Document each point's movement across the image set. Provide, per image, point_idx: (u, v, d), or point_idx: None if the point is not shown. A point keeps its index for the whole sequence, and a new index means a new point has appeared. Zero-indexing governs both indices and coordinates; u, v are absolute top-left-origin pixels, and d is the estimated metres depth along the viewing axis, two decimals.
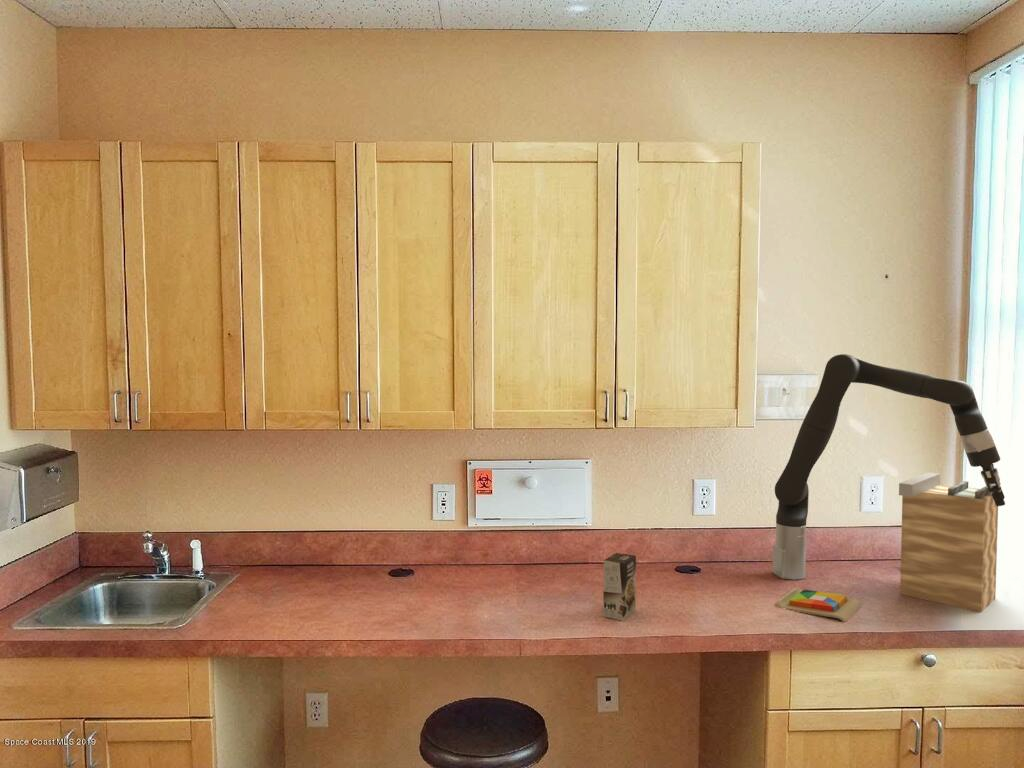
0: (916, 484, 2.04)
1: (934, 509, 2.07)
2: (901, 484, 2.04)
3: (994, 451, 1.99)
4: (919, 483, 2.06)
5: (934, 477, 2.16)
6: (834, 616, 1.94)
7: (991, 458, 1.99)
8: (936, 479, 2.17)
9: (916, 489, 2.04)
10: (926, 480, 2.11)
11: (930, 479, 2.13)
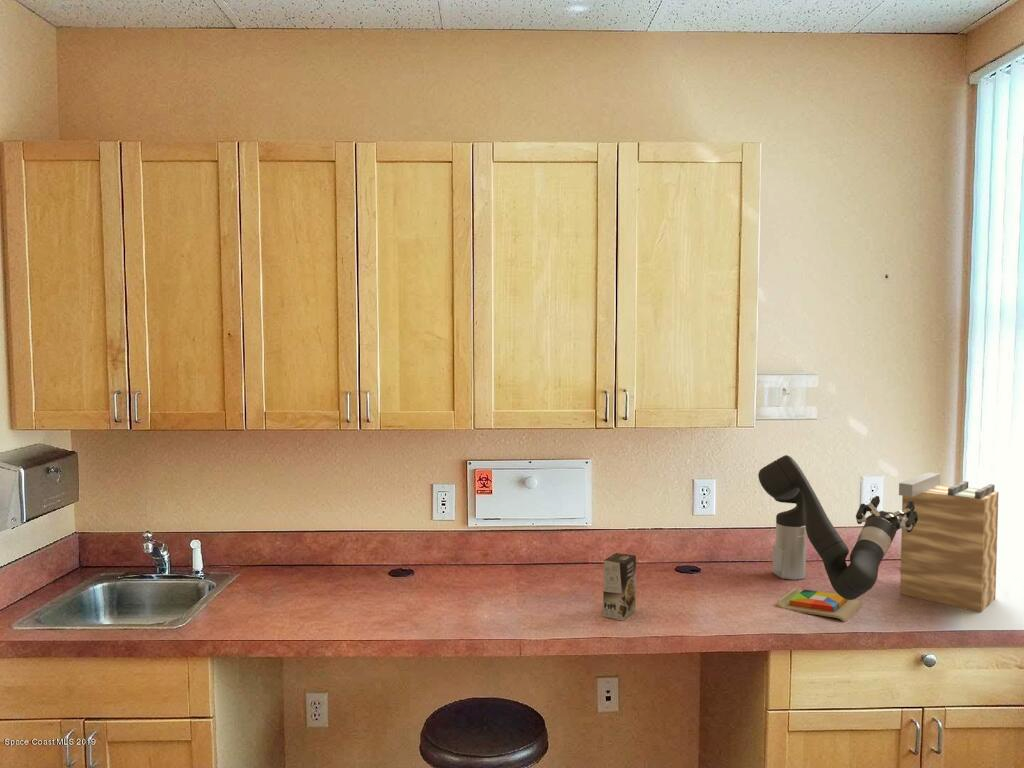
0: (916, 484, 2.04)
1: (934, 509, 2.07)
2: (901, 484, 2.04)
3: None
4: (919, 483, 2.06)
5: (934, 477, 2.16)
6: (834, 616, 1.94)
7: None
8: (936, 479, 2.17)
9: (916, 489, 2.04)
10: (926, 480, 2.11)
11: (930, 479, 2.13)
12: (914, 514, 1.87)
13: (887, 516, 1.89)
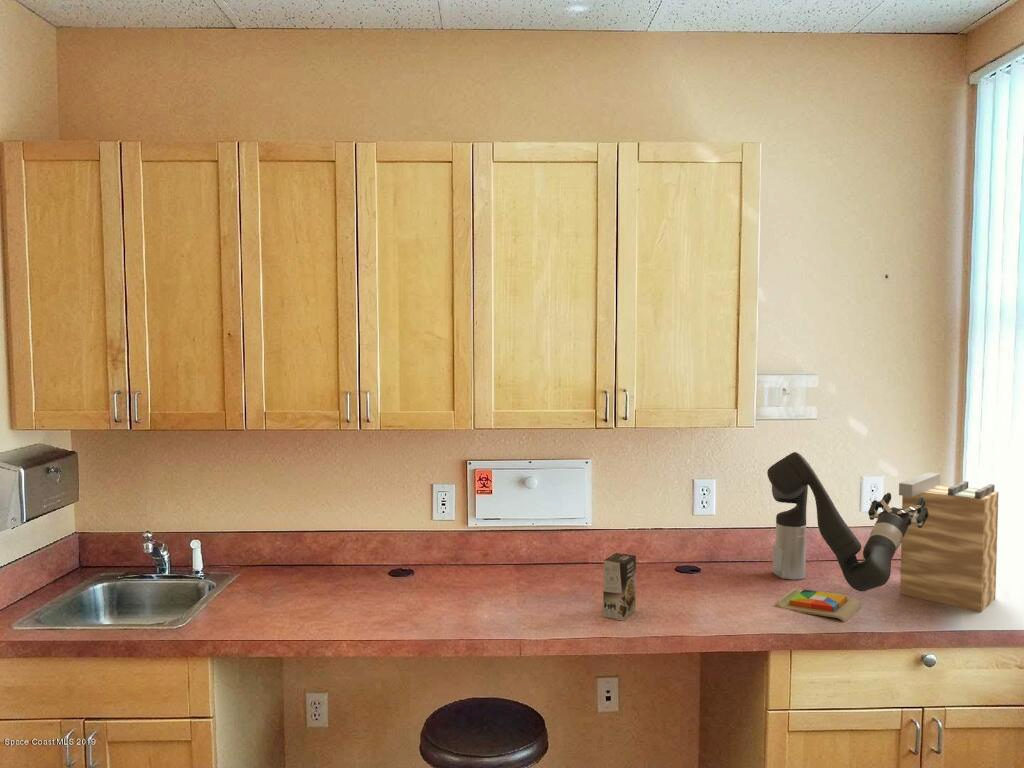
0: (916, 484, 2.04)
1: (934, 509, 2.07)
2: (901, 484, 2.04)
3: None
4: (919, 483, 2.06)
5: (934, 477, 2.16)
6: (834, 616, 1.94)
7: None
8: (936, 479, 2.17)
9: (916, 489, 2.04)
10: (926, 480, 2.11)
11: (930, 479, 2.13)
12: (925, 510, 1.95)
13: (899, 512, 1.96)
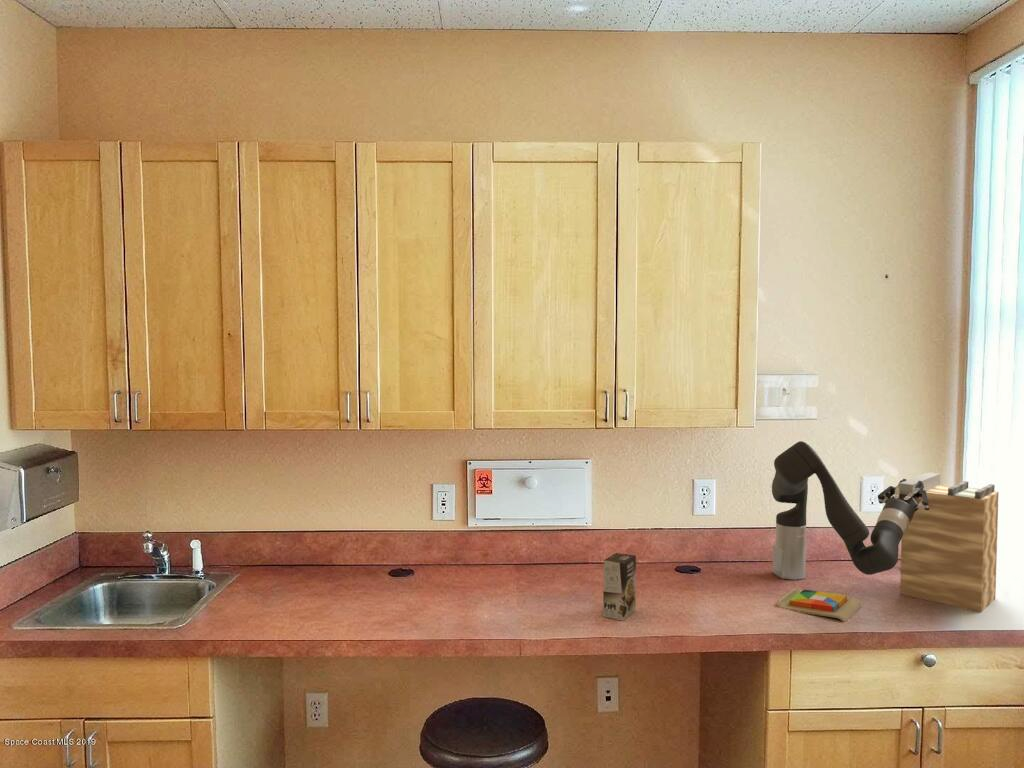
0: (916, 484, 2.04)
1: (934, 509, 2.07)
2: (901, 484, 2.04)
3: None
4: None
5: (934, 477, 2.16)
6: (834, 616, 1.94)
7: None
8: (936, 479, 2.17)
9: None
10: (926, 480, 2.11)
11: (930, 479, 2.13)
12: (923, 493, 2.00)
13: (905, 498, 2.00)
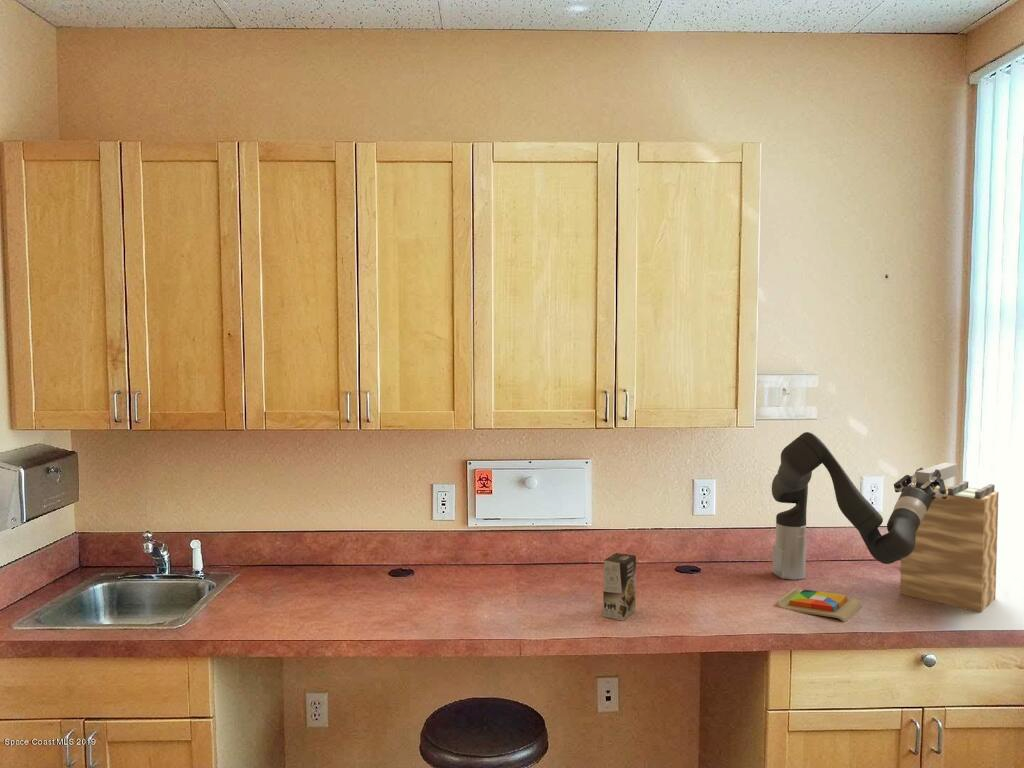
0: (933, 473, 2.01)
1: (934, 509, 2.07)
2: (918, 473, 2.01)
3: None
4: None
5: (951, 467, 2.12)
6: (834, 616, 1.94)
7: None
8: (953, 469, 2.14)
9: None
10: (943, 469, 2.07)
11: (947, 469, 2.10)
12: (941, 481, 1.97)
13: (922, 487, 1.96)
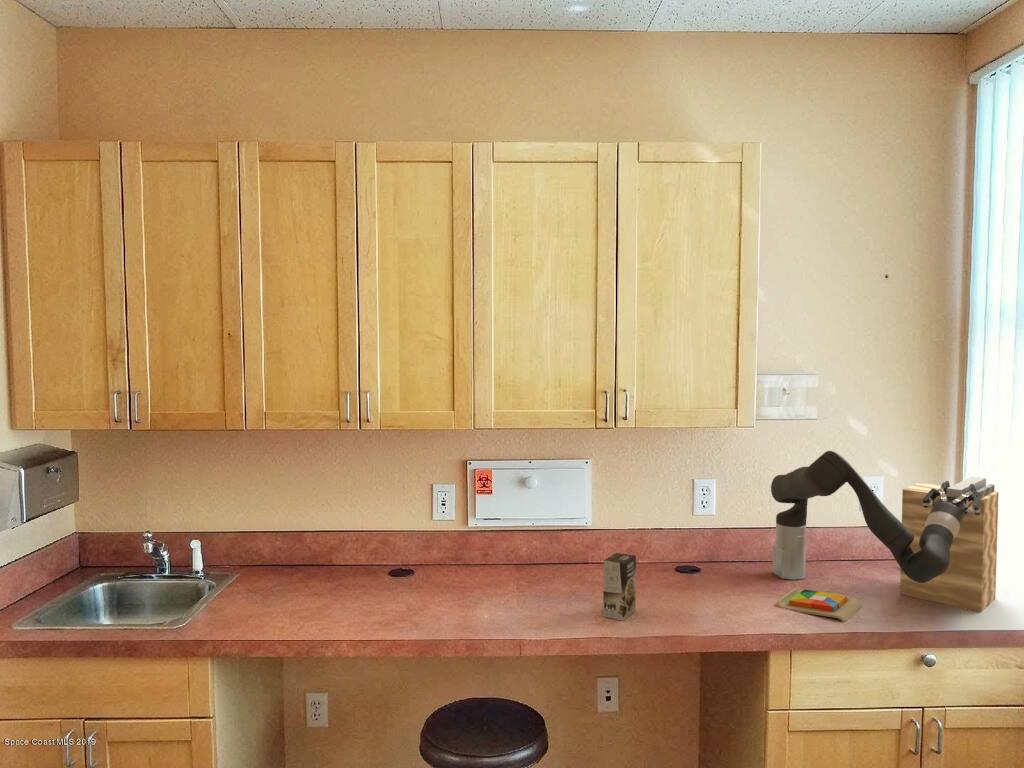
0: (964, 489, 1.96)
1: None
2: (949, 489, 1.95)
3: None
4: (967, 488, 1.97)
5: (981, 482, 2.07)
6: (834, 616, 1.94)
7: None
8: (982, 484, 2.08)
9: None
10: None
11: (977, 484, 2.04)
12: (977, 497, 1.91)
13: (954, 501, 1.91)
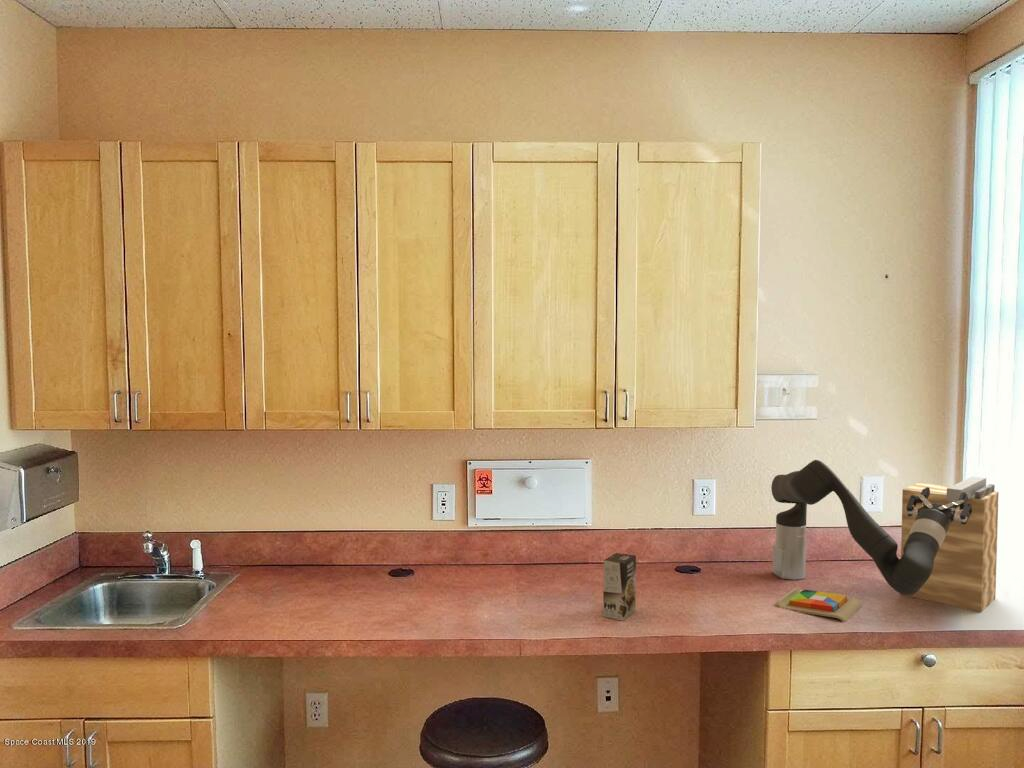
0: (964, 489, 1.96)
1: None
2: (949, 489, 1.95)
3: None
4: (967, 488, 1.97)
5: (981, 482, 2.07)
6: (834, 616, 1.94)
7: None
8: (982, 484, 2.08)
9: None
10: (973, 485, 2.02)
11: (977, 484, 2.04)
12: (969, 506, 1.81)
13: (940, 508, 1.83)
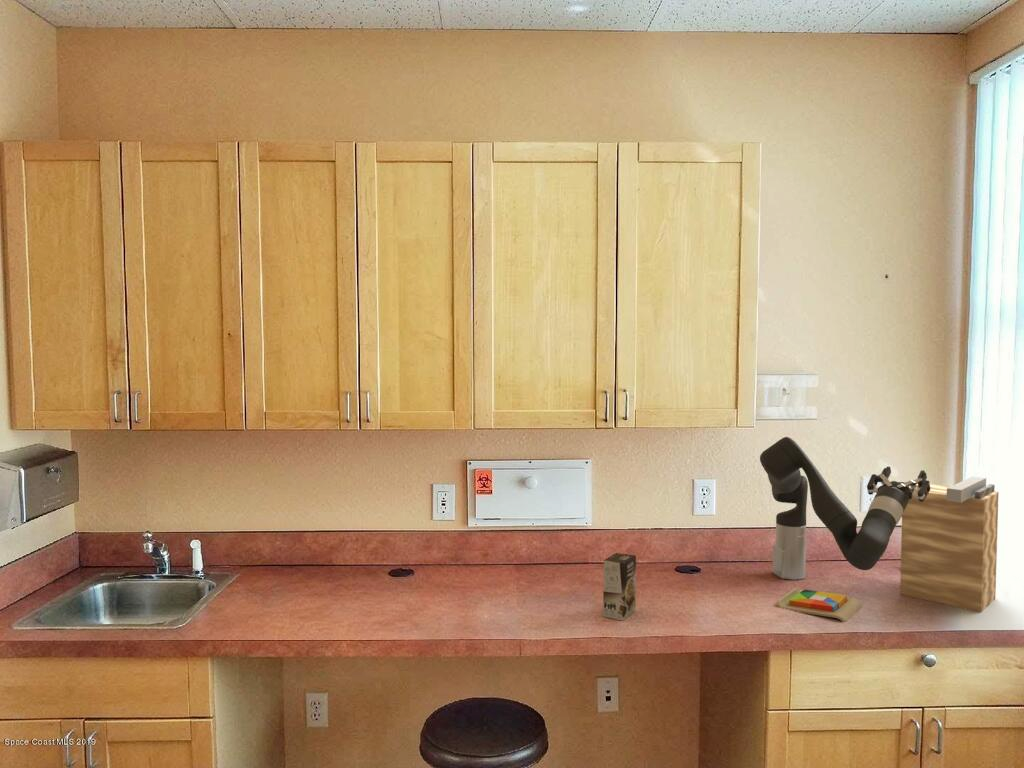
0: (964, 489, 1.96)
1: (934, 509, 2.07)
2: (949, 489, 1.95)
3: None
4: (967, 488, 1.97)
5: (981, 482, 2.07)
6: (834, 616, 1.94)
7: None
8: (982, 484, 2.08)
9: (964, 495, 1.95)
10: (973, 485, 2.02)
11: (977, 484, 2.04)
12: (926, 483, 1.84)
13: (899, 486, 1.86)
